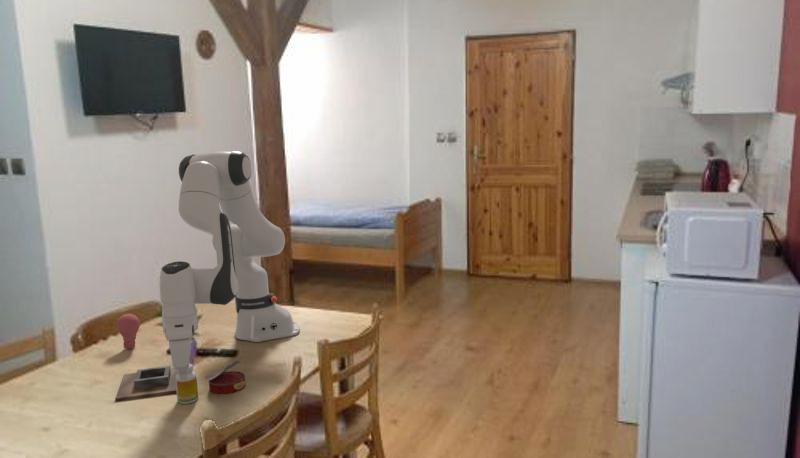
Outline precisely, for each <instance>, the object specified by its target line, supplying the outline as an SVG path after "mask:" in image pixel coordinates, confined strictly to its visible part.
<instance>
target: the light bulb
mask: <svg viewBox="0 0 800 458" xmlns="http://www.w3.org/2000/svg"><path fill="white" fill-rule="evenodd" d="M140 325H141V323H140V320H139V318H138V316H136V315H135V314H133V313H125V314H122V315H120V317H119V318H118V319H117V321H116V329H117V331H118V333H119V334H120V335H121V336H122V340H123V349H127V350H131V349H134V348H135V347H136V339H137V334H138V332H139V328H140Z"/></svg>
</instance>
